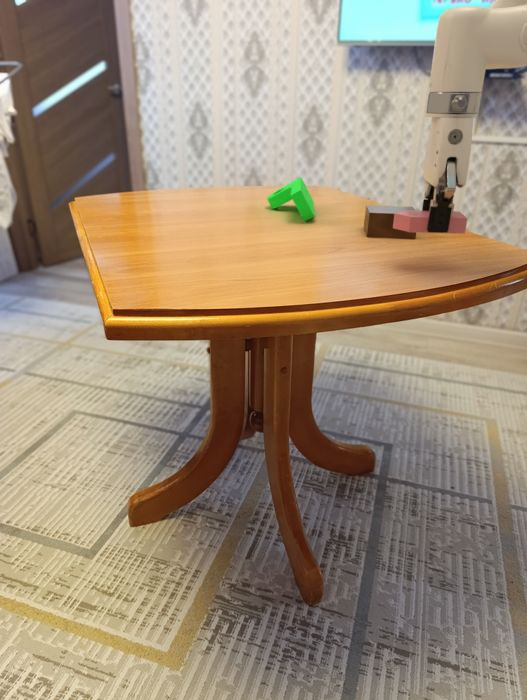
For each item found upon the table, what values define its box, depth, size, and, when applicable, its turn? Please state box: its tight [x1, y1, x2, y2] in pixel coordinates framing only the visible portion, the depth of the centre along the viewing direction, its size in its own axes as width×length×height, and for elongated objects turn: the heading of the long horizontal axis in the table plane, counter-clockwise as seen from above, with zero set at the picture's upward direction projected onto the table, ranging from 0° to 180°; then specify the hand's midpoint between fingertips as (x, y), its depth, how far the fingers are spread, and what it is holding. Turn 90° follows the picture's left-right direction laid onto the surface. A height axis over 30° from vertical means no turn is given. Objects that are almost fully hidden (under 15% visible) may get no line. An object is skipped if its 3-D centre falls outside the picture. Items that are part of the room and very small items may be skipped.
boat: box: [393, 200, 469, 235], centre depth 84 cm, size 11×5×4 cm, turn 85°
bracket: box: [266, 176, 316, 222], centre depth 123 cm, size 20×10×7 cm
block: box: [363, 204, 417, 240], centre depth 108 cm, size 10×8×5 cm
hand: (433, 226), depth 84 cm, fingers closed on boat, 5 cm apart
